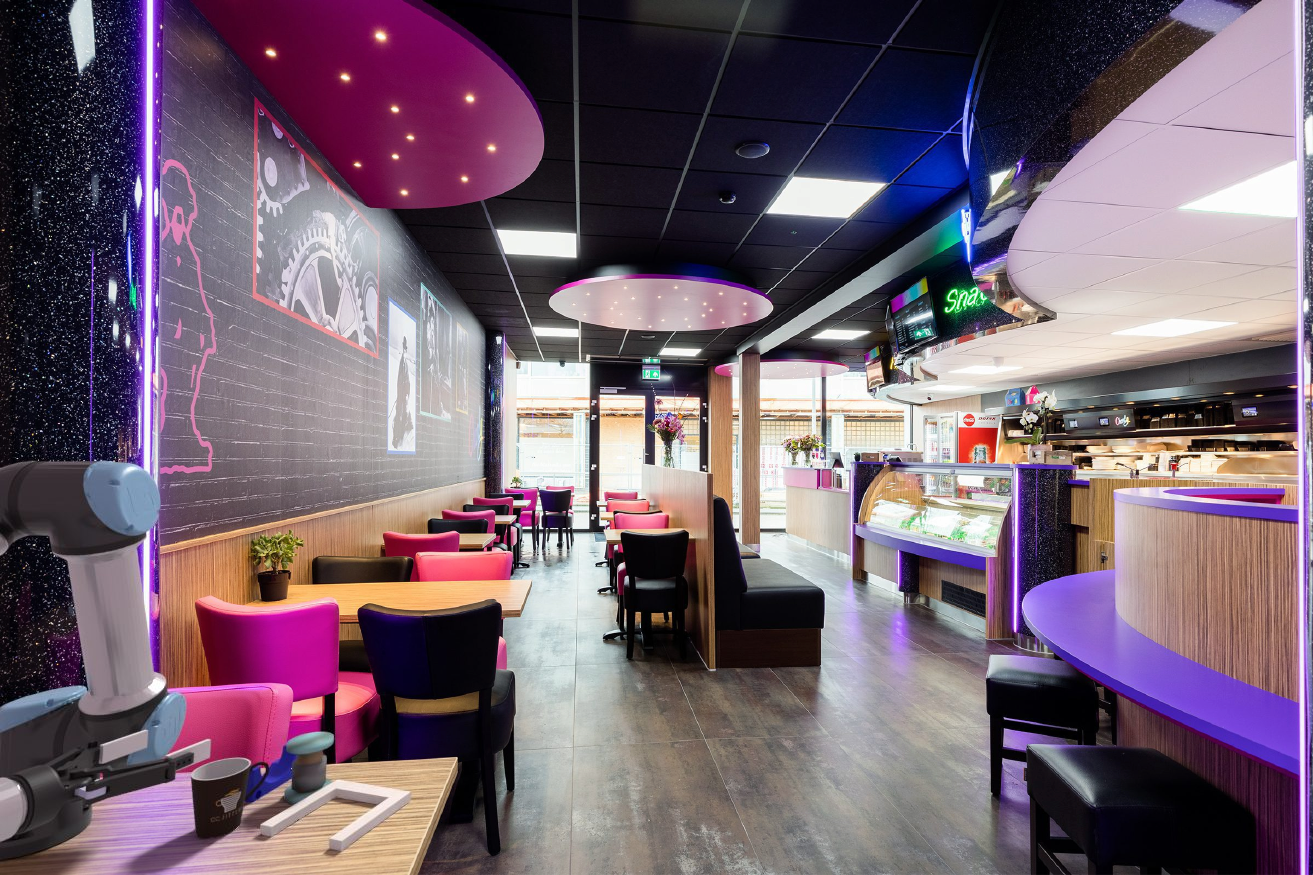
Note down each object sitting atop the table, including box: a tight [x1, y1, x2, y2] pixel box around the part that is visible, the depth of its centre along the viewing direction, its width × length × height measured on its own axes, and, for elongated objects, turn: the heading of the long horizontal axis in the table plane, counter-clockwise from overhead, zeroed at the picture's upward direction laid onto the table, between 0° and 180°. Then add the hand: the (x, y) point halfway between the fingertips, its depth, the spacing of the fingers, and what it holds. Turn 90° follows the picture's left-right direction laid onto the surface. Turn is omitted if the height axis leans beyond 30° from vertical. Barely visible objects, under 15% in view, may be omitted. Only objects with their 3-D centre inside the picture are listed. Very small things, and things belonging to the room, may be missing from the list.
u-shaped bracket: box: [259, 779, 412, 852], centre depth 113 cm, size 17×17×2 cm
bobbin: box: [283, 731, 335, 805], centre depth 121 cm, size 8×8×10 cm
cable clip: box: [244, 743, 297, 804], centre depth 124 cm, size 12×4×6 cm, turn 169°
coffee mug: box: [190, 757, 270, 840], centre depth 110 cm, size 12×9×10 cm
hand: (177, 743), depth 101 cm, fingers open, 13 cm apart
